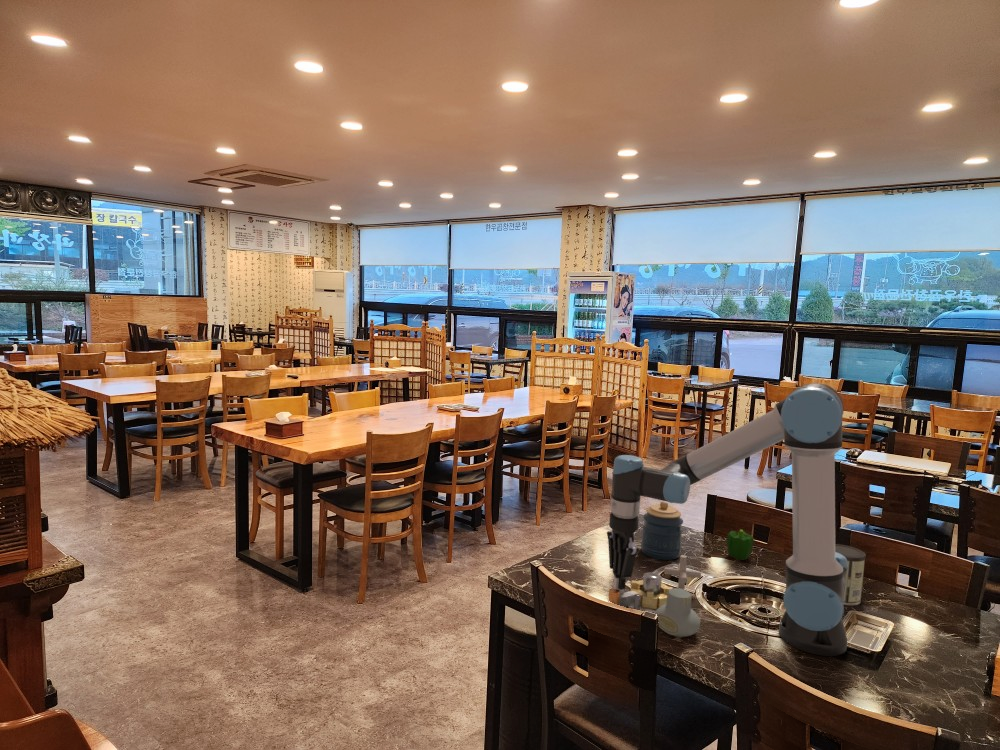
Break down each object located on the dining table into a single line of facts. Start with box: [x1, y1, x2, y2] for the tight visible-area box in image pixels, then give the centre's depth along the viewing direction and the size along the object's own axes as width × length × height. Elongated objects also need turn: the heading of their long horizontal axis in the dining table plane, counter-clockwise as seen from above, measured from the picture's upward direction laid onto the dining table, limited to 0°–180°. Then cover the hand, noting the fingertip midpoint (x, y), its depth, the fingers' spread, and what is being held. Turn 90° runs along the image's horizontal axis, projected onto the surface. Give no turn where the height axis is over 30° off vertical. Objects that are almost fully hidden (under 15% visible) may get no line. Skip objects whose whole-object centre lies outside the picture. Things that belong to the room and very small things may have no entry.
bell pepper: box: [726, 529, 754, 561], centre depth 204 cm, size 8×8×10 cm
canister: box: [640, 500, 684, 561], centre depth 204 cm, size 13×13×18 cm
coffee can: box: [835, 543, 867, 606], centre depth 177 cm, size 10×10×14 cm
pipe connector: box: [663, 554, 702, 590], centre depth 177 cm, size 10×10×10 cm
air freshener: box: [655, 587, 701, 638], centre depth 154 cm, size 11×8×10 cm
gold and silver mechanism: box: [627, 571, 663, 613], centre depth 165 cm, size 14×21×8 cm, turn 124°
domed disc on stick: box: [608, 579, 673, 609], centre depth 166 cm, size 20×11×4 cm, turn 117°
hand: (618, 598), depth 165 cm, fingers closed
